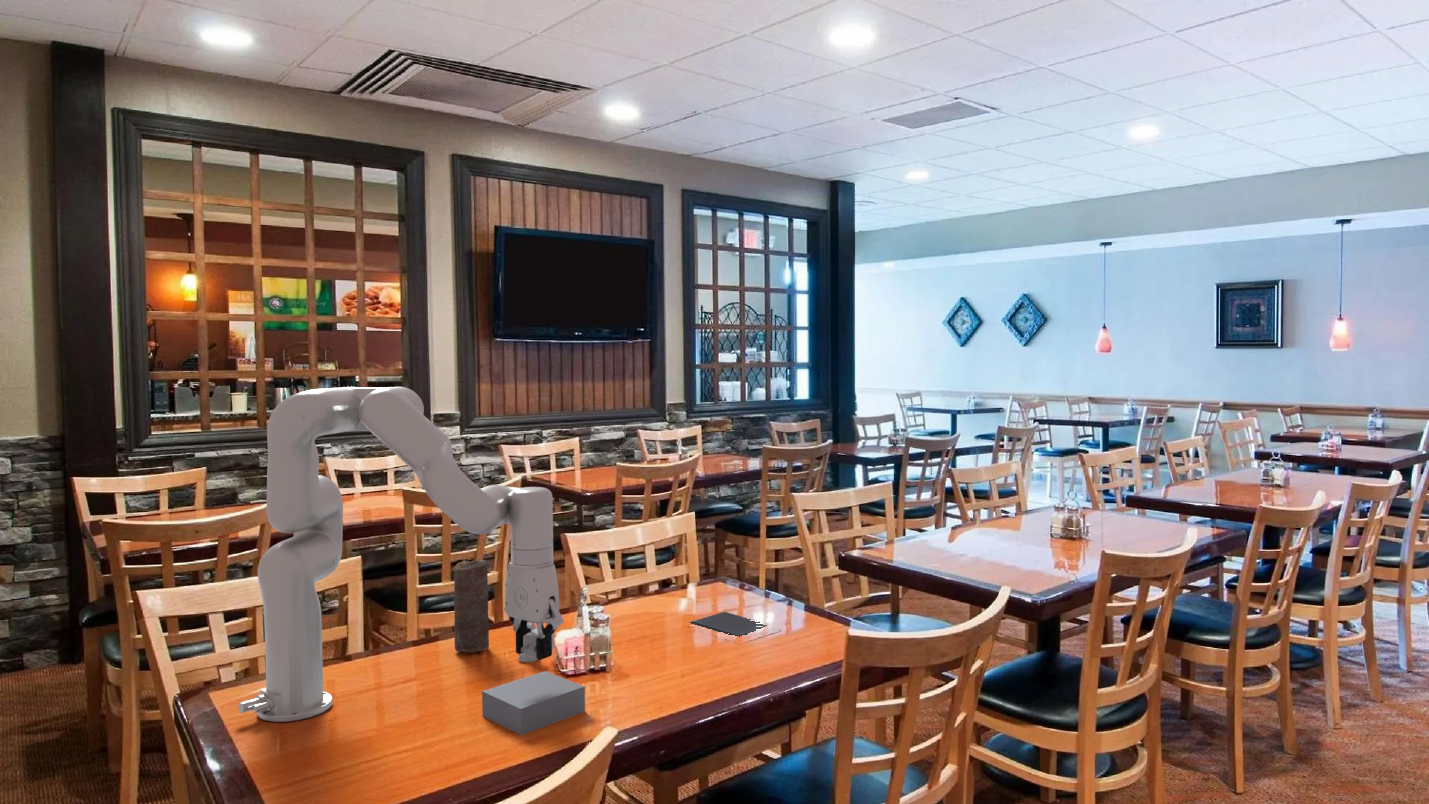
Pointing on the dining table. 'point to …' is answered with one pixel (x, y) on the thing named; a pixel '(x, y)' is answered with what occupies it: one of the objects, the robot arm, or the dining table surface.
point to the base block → (533, 702)
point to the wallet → (728, 624)
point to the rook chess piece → (522, 656)
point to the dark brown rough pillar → (471, 606)
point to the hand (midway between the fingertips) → (533, 653)
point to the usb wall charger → (532, 643)
